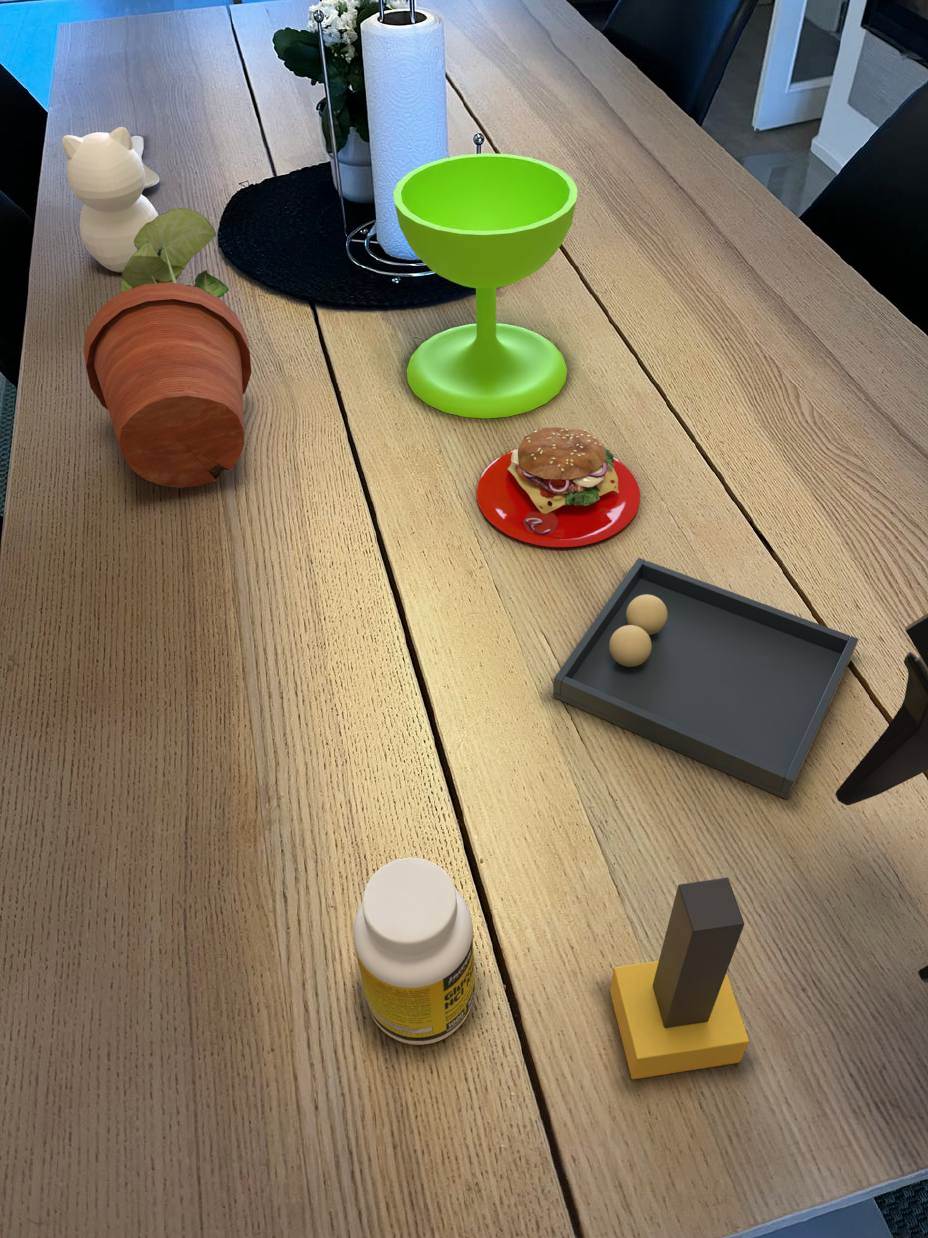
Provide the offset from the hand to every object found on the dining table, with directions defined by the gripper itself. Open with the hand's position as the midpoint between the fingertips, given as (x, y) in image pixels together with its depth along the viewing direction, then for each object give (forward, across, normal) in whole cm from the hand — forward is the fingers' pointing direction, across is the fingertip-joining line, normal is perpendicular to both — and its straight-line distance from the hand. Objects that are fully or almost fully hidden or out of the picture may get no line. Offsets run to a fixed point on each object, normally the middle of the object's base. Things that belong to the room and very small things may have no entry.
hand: (879, 883), depth 47 cm
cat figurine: (+42, -97, -23) cm, 108 cm away
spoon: (+43, -122, -23) cm, 132 cm away
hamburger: (+13, -46, +6) cm, 48 cm away
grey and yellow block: (+15, 0, +4) cm, 16 cm away
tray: (+9, -24, +10) cm, 28 cm away
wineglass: (+16, -66, +4) cm, 68 cm away
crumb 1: (+10, -29, +7) cm, 31 cm away
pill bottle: (+25, -4, -6) cm, 26 cm away
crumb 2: (+11, -26, +5) cm, 29 cm away
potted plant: (+37, -67, -18) cm, 78 cm away
